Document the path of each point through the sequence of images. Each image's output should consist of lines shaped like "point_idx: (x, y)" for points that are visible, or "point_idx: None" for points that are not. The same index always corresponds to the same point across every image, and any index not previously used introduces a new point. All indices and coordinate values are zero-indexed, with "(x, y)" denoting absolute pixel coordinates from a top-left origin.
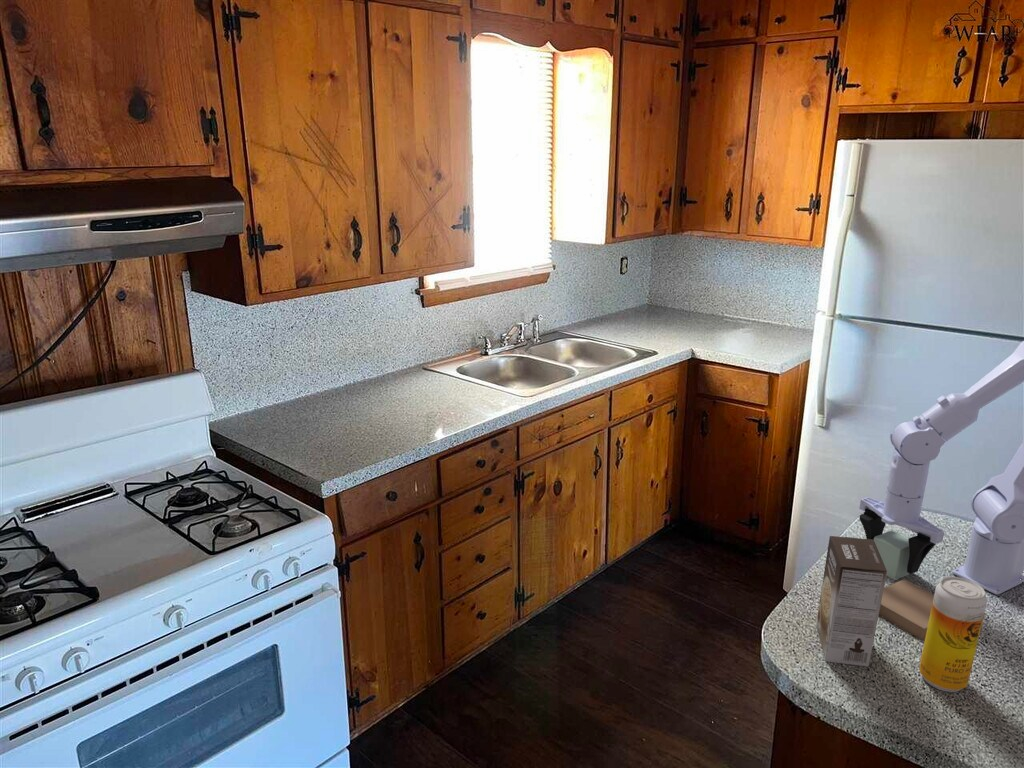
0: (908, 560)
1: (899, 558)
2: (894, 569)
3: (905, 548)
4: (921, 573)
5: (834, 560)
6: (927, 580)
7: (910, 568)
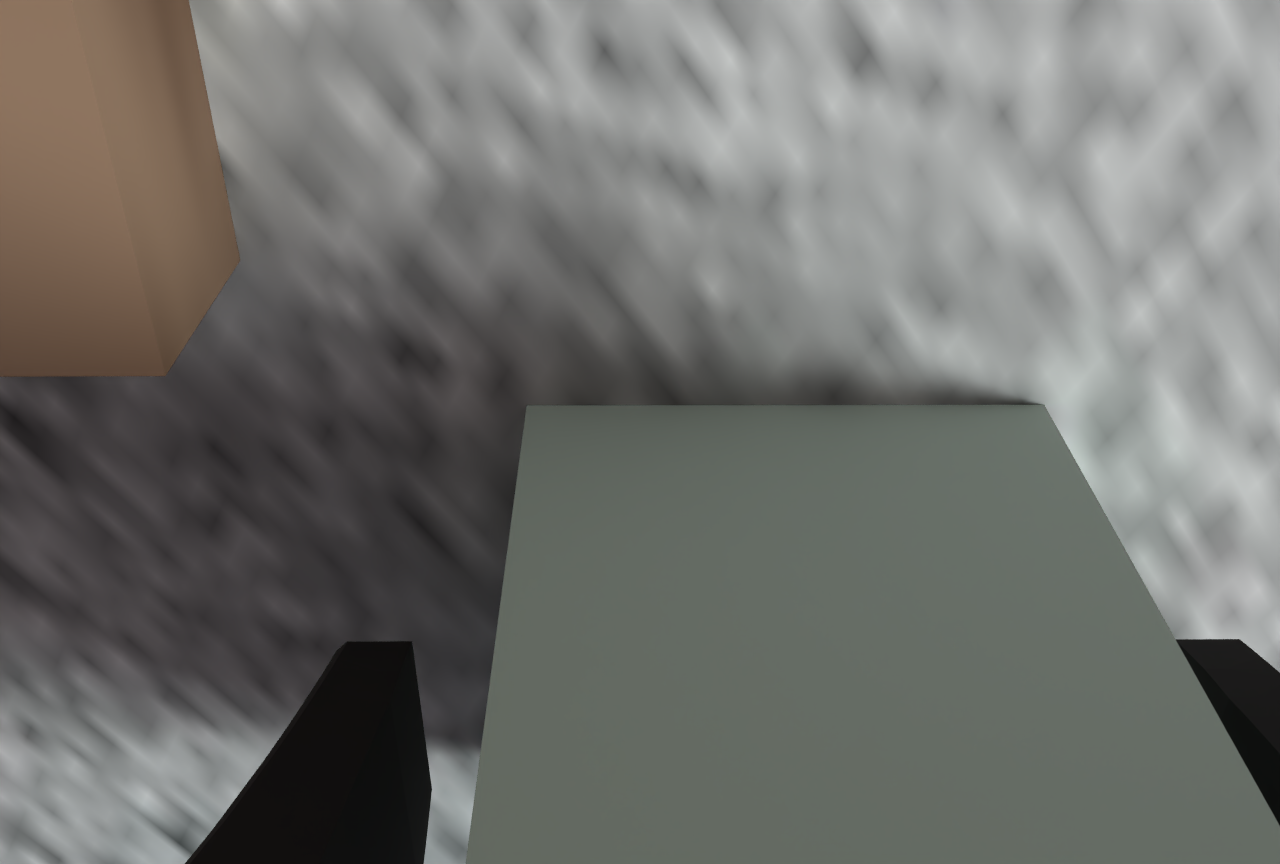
0: (332, 831)
1: (488, 757)
2: (558, 526)
3: None
4: None
5: None
6: None
7: (309, 710)
